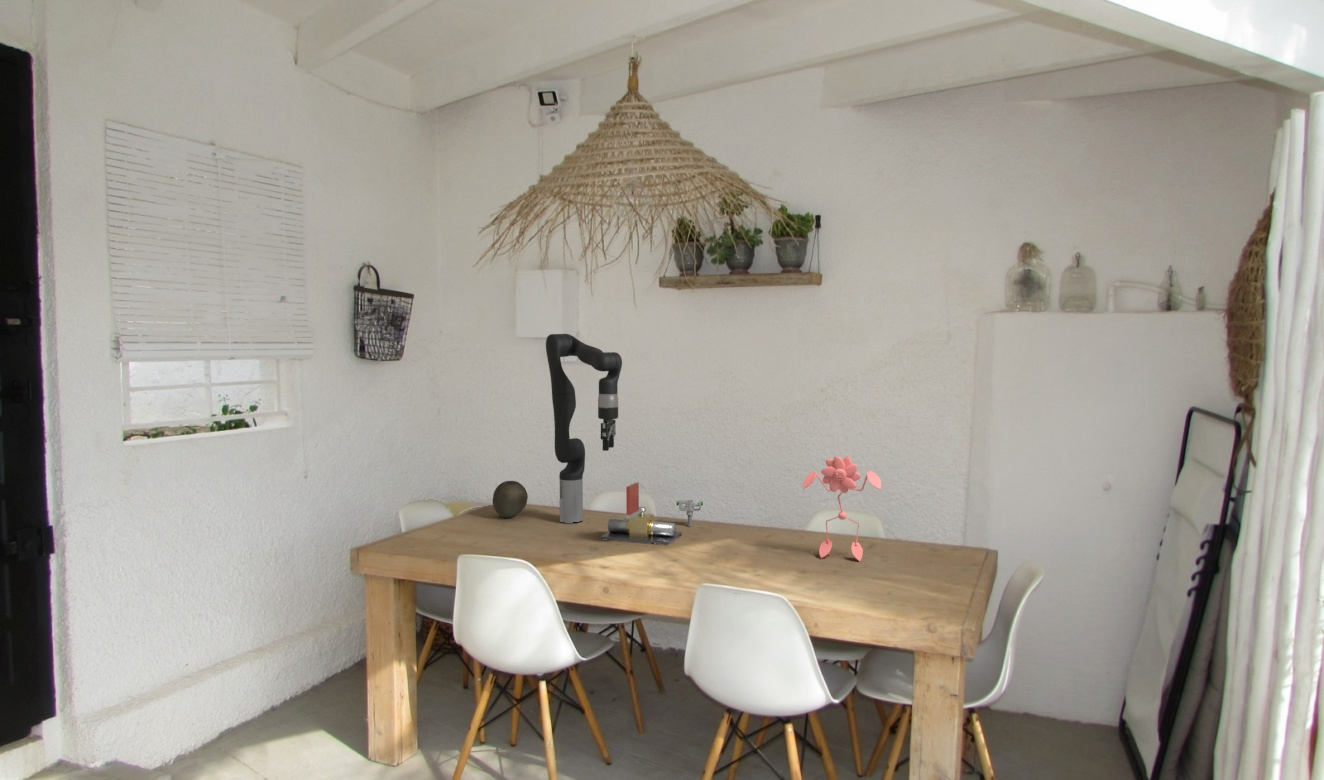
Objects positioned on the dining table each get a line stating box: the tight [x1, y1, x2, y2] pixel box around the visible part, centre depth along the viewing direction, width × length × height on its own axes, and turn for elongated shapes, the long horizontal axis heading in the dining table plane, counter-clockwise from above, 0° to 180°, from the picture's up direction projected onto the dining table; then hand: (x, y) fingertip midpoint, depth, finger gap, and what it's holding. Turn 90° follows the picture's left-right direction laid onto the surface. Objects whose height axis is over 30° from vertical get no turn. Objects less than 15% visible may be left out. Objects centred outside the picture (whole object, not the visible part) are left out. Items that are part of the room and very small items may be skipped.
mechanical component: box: [676, 499, 704, 527], centre depth 324 cm, size 3×10×10 cm, turn 89°
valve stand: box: [600, 512, 683, 546], centre depth 306 cm, size 26×16×10 cm, turn 71°
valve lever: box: [625, 482, 647, 519], centre depth 299 cm, size 3×15×11 cm, turn 161°
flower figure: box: [802, 455, 882, 562], centre depth 271 cm, size 15×26×35 cm, turn 68°
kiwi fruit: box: [492, 480, 529, 519], centre depth 340 cm, size 14×14×15 cm
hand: (608, 449), depth 311 cm, fingers open, 8 cm apart
